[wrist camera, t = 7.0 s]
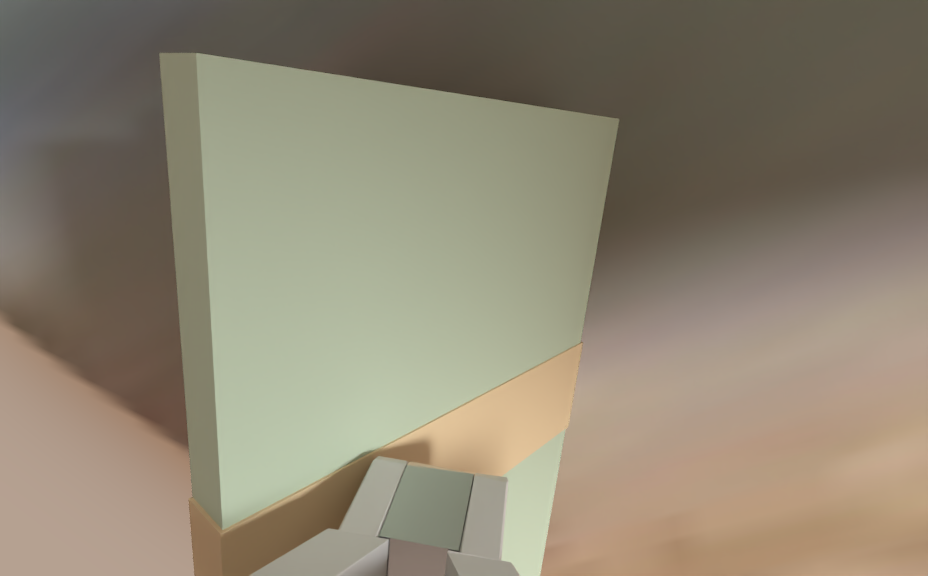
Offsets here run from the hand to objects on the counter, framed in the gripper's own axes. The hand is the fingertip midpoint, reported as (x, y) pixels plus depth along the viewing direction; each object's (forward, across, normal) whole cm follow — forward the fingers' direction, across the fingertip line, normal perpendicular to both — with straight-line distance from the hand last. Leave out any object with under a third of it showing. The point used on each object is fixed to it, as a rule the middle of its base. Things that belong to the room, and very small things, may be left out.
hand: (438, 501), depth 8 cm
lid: (+2, +1, 0) cm, 2 cm away
